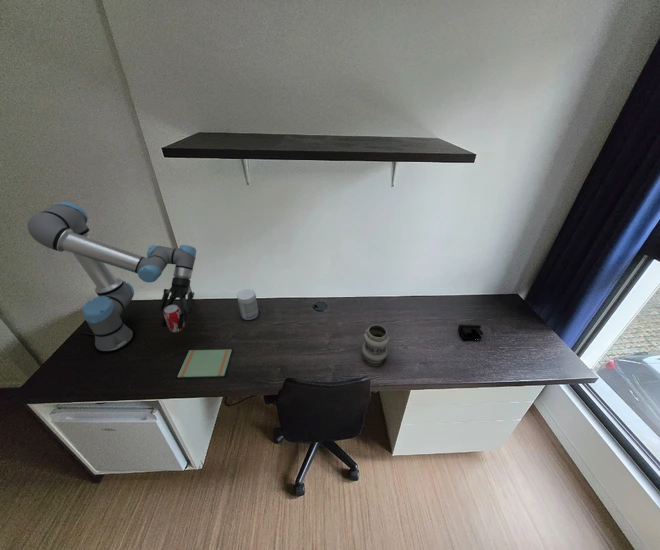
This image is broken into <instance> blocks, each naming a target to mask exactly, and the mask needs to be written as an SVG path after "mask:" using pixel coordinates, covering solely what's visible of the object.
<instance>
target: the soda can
mask: <svg viewBox="0 0 660 550" xmlns="http://www.w3.org/2000/svg"><path fill="white" fill-rule="evenodd" d="M181 313H182V309H181V307H179V306H178V305H177V304H172V305H169V306H167V307H166V308H165V309H164V317H165V320H166V323H167V324H166V327H167V328H168V330H169V332H171V333H179V332H181V331H183V330H184V329H185V327H186V323H185V322H186V321H185V322H183V327H182V329H177V327H178V322H179V317H180V314H181Z"/></svg>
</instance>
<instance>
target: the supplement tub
mask: <svg viewBox="0 0 660 550" xmlns="http://www.w3.org/2000/svg"><path fill="white" fill-rule="evenodd" d="M236 299H237V303H238V308H239V313H240V317H241V318H242V319H243V320H245V321H251V320H254V319H256V318H257V317H258V316H259V306H258V301H257V295H256V292H255V290H254V289H250V288H245V289H242V290H240V291H239V292H238V293H237V294H236Z"/></svg>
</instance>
